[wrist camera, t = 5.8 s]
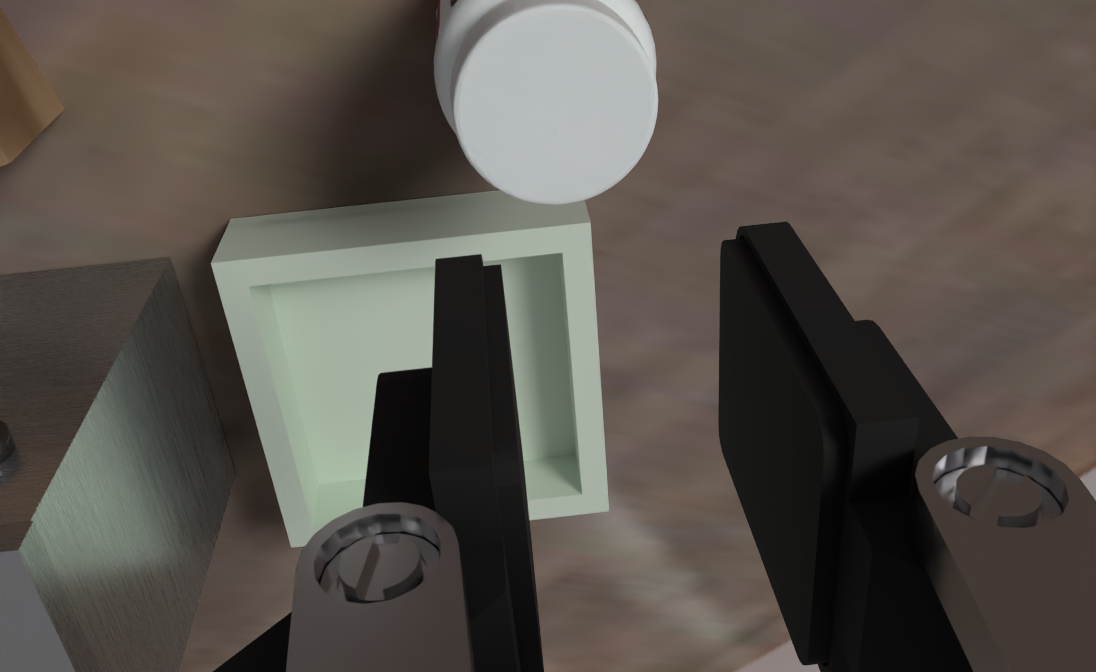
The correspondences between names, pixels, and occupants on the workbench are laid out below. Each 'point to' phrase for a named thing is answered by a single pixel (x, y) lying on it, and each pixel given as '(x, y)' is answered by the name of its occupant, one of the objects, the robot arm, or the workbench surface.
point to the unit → (104, 470)
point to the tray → (409, 338)
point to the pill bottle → (547, 92)
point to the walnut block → (21, 96)
